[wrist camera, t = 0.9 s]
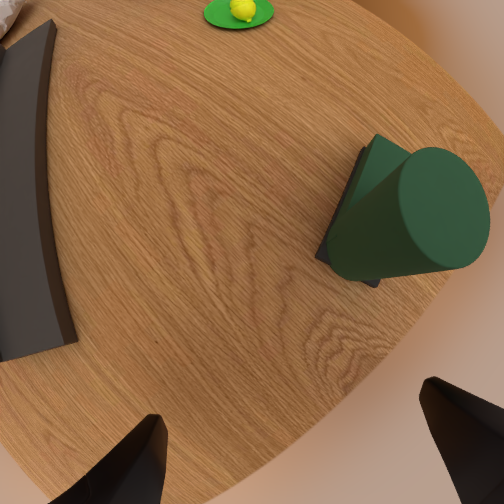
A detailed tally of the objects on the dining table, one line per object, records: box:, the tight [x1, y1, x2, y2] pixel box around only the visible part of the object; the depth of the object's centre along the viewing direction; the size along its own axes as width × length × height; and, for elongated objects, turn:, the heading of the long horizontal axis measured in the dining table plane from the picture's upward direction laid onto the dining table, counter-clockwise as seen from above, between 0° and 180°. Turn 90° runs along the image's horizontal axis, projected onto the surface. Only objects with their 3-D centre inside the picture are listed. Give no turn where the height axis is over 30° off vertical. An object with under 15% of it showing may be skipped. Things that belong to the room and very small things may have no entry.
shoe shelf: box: [0, 19, 78, 362], centre depth 22 cm, size 44×10×4 cm, turn 19°
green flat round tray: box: [204, 0, 274, 29], centre depth 24 cm, size 8×8×3 cm
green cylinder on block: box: [315, 134, 490, 288], centre depth 16 cm, size 11×5×12 cm, turn 153°
